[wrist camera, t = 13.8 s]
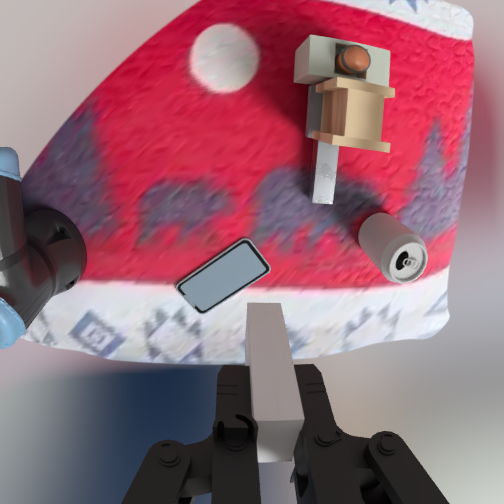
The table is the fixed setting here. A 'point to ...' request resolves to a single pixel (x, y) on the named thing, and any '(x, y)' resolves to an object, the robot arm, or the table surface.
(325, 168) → the rail
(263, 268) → the smartphone
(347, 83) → the carriage
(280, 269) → the table surface
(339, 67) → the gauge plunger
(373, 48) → the grey hollow block
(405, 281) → the can
